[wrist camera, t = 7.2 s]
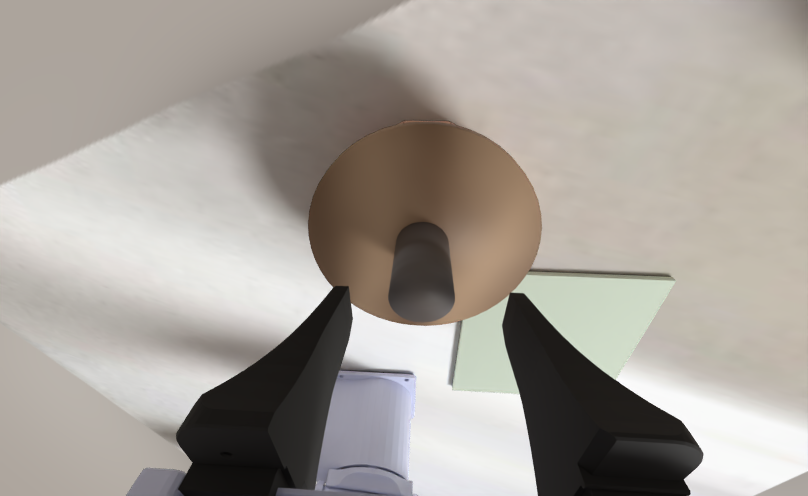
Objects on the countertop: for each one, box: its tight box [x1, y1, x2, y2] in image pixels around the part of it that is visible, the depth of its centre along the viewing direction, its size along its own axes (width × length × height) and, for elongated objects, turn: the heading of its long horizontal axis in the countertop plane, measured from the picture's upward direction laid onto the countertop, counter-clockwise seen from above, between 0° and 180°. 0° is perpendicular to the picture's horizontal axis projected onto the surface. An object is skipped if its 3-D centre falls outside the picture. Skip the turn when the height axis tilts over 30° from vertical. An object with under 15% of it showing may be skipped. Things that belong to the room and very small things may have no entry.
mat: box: [452, 271, 676, 394], centre depth 30 cm, size 16×16×1 cm
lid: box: [308, 122, 542, 326], centre depth 16 cm, size 13×13×5 cm
